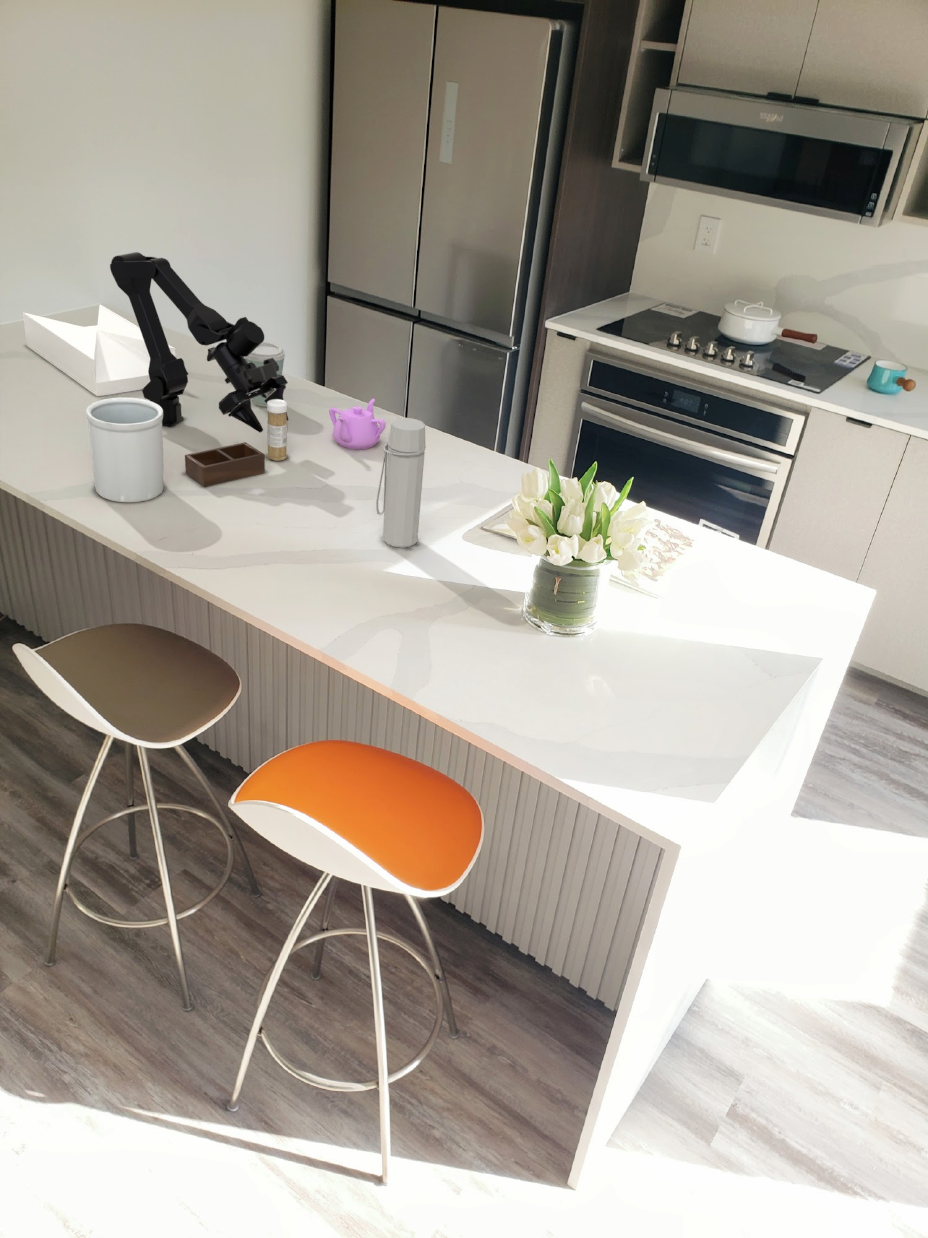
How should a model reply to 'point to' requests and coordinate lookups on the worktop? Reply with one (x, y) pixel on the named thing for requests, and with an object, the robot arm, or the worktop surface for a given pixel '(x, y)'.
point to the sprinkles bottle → (277, 429)
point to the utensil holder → (126, 448)
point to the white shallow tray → (93, 351)
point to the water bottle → (403, 482)
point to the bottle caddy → (224, 464)
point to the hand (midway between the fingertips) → (274, 425)
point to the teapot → (357, 427)
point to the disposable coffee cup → (263, 353)
